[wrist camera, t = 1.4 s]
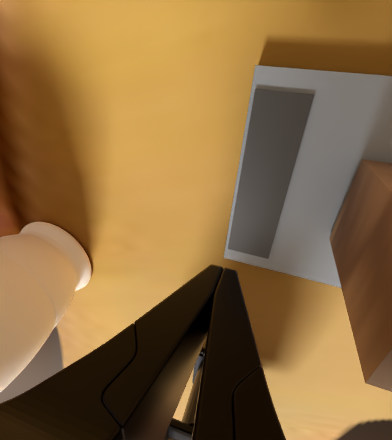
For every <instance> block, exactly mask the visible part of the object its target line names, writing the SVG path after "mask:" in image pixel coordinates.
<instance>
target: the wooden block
mask: <svg viewBox="0 0 392 440" xmlns="http://www.w3.org/2000/svg"><path fill="white" fill-rule="evenodd" d="M329 240H330V244H331V248H332V252H333V256H334V260H335V264H336V268H337V272H338V276H339V280H340V284H341V288H342V292H343V296H344V300H345V304H346V308H347V312H348V316H349V320H350V324H351V328H352V332H353V336H354V340H355V344H356V348H357V352H358V356H359V360H360V364H361V368H362V372H363V376H364V380H365V383H367V384H370V385H373V386H376V387H379V388H382V389H385V390H388V391H391V392H392V163H385V162H379V161H372V160H365V159H362V160H361V162H360V165H359V167H358V170H357V172H356V175H355V177H354V179H353V182H352V184H351V187H350V189H349V192H348V194H347V196H346V199H345V201H344V204H343V206H342V209H341V211H340V213H339V216H338V218H337V221H336V223H335V226H334V228H333V230H332V233H331V235H330V238H329Z"/></svg>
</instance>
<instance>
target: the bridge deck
mask: <svg viewBox="0 0 392 440" xmlns="http://www.w3.org/2000/svg"><path fill="white" fill-rule="evenodd" d="M362 159H365V160H372V161H379V162H385V163H392V76H385V75H372V74H360V73H347V72H335V71H322V70H310V69H297V68H285V67H272V66H259V65H255V71H254V77H253V83H252V89H251V95H250V101H249V107H248V113H247V119H246V125H245V131H244V137H243V144H242V150H241V156H240V162H239V168H238V174H237V180H236V186H235V192H234V198H233V204H232V210H231V216H230V222H229V228H228V234H227V240H226V247H225V253H224V258H226V259H230V260H234V261H238V262H242V263H246V264H250V265H254V266H258V267H261V268H265V269H269V270H273V271H277V272H281V273H285V274H289V275H293V276H297V277H301V278H305V279H309V280H313V281H317V282H320V283H324V284H328V285H332V286H336V287H340V288H341V284H340V280H339V276H338V272H337V268H336V264H335V260H334V256H333V252H332V248H331V244H330V240H329V238H330V235H331V233H332V230H333V228H334V226H335V223H336V221H337V218H338V216H339V213H340V211H341V209H342V206H343V204H344V201H345V199H346V196H347V194H348V192H349V189H350V187H351V184H352V182H353V179H354V177H355V175H356V172H357V170H358V167H359V165H360V162H361V160H362Z"/></svg>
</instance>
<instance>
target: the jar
mask: <svg viewBox="0 0 392 440" xmlns="http://www.w3.org/2000/svg"><path fill="white" fill-rule="evenodd" d="M90 278H91V264H90V261H89V258H88V256H87V254H86V252H85V251H84V249H83V248H82V246H81V245H80V244H79V243H78V242H77V241H76V240H75V238H73V237H72V236H71V235H70V234H69V233H67V232H66V231H65V230H63V229H61V228H60V227H58V226H55V225H53V224H50V223H46V222H33V223H30V224H28V225H26V226H25V227H24V228H23V229H22V230H21V232H20V233H19V234H17V235H10V236H4V237H0V392H1V391H2V390H3V389H5V388H6V387H7V386H8V385H9V384H10V383H11V382H12V381H13V379H15V378H16V376H17V375H19V373H20V372H21V371H22V370H23V369H24V368H25V367H26V366H27V365H28V363H29V362H30V361H31V360H32V359H33V357H34V356H35V355H36V354H37V352H38V351H39V350H40V348H41V347H42V345H43V344H44V343H45V341H46V339H47V338H48V336H49V335H50V333H51V331H52V330H53V328H54V327H55V326H56V325H57V324H58V322H59V321H60V320H61V318H62V317H63V315H64V314H65V312H66V311H67V309H68V307H69V305H70V303H71V301H72V299H73V296H74V293H75V291H76V290H79V289H81V288H83V287H84V286H86V285H87V284H88V282H89V280H90Z"/></svg>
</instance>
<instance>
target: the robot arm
mask: <svg viewBox="0 0 392 440" xmlns="http://www.w3.org/2000/svg"><path fill="white" fill-rule="evenodd" d="M134 324H135V325H134ZM134 324H133V323H132V324H131V325H130V326H128V327H127V328H126V329H124V330H123V331H122V332H120V333H119V334H117V335H116V336H115V337H113V338H112V339H110V340H109V341H107V342H106V343H105V344H103V345H101V346H100V347H98V348H97V349H95V350H94V351H92V352H91V353H89V354H87V355H86V356H84V357H83V358H81V359H79V360H78V361H76V362H74V363H73V364H71V365H69V366H68V367H66V368H64V369H63V370H61V371H59V372H58V373H56V374H55V375H53V376H51V377H50V378H48V379H47V380H45V381H43V382H41V383H40V384H38V385H36V386H35V387H33V388H31V389H30V390H28V391H26V392H24V393H22V394H20V395H19V396H16V397H15V398H12V399H10V400H7V401H5V402H3V403H0V440H286V438H285V436H284V433H283V430H282V428H281V425H280V422H279V419H278V417H277V414H276V411H275V408H274V405H273V402H272V399H271V395H270V392H269V389H268V385H267V382H266V378H265V375H264V371H263V368H262V367H261V366H262V364H261V360H260V357H259V353H258V349H257V345H256V342H255V338H254V334H253V331H252V327H251V323H250V319H249V316H248V312H247V308H246V305H245V301H244V297H243V293H242V290H241V286H240V282H239V279H238V275H237V272H236V271H235V270H232V269H228V268H224V269H223V268H222V267H220V266H216V265H210V266H208V267H207V268H206V269H204V270H203V271H202V272H200V273H199V274H198V275H196V276H195V277H194V278H192V279H191V280H190V281H188V282H187V283H186V284H184V285H183V286H182V287H180V288H179V289H178V290H176V291H175V292H174V293H172V294H171V295H170V296H168V297H167V298H166V299H164V300H163V301H162V302H160V303H159V304H158V305H156V306H155V307H154V308H152V309H151V310H150V311H148V312H147V313H146V314H144V315H143V316H142V317H140V318H139V319H138V320H136V321H135V323H134ZM207 333H208V334H207ZM206 336H207V341H206V348H205V349H203V348H202V346H203V344H204V341H205V339H206ZM194 365H195V366H194ZM193 368H194V374H193V387H192V390H191V393H190V396H189V399H188V403H187V406H186V409H185V412H184V416H183V419H182V422H181V421H179V420H176V419H174V418H173V415H174V413H175V410H176V408H177V406H178V403H179V401H180V399H181V396H182V394H183V391H184V389H185V387H186V384H187V382H188V380H189V377H190V375H191V372H192V370H193Z"/></svg>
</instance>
